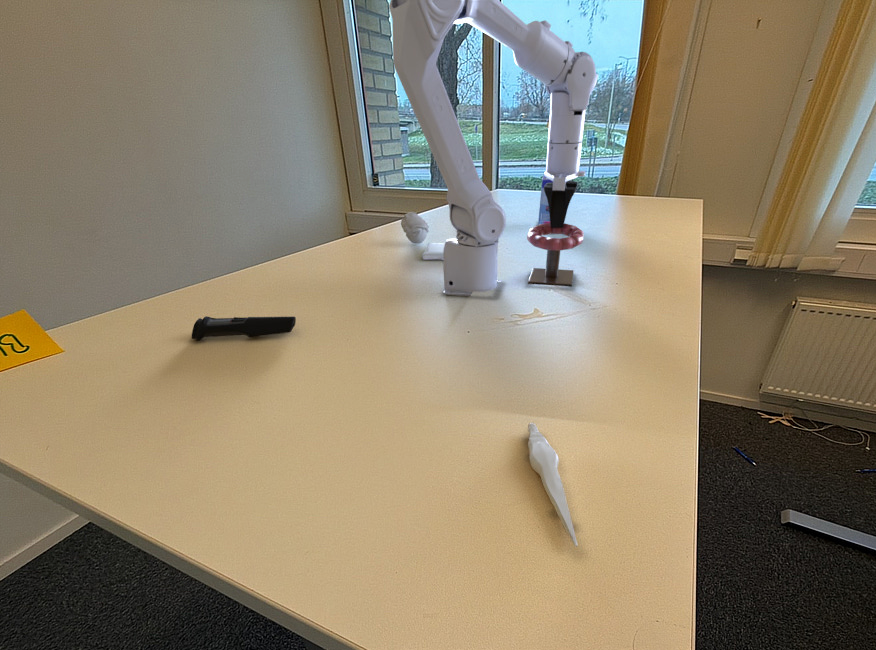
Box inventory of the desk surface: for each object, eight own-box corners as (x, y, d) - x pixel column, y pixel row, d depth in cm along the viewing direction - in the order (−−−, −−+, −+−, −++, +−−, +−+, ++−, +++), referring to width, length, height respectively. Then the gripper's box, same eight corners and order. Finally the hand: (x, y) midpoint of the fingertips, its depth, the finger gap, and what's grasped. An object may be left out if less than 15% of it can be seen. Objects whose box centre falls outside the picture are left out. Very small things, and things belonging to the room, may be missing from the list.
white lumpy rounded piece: (414, 238, 111) (411, 208, 107) (435, 242, 107) (433, 211, 103) (397, 243, 107) (394, 213, 103) (419, 248, 103) (416, 216, 99)
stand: (527, 286, 82) (530, 248, 78) (532, 272, 88) (534, 237, 84) (571, 289, 80) (575, 251, 76) (572, 275, 87) (577, 238, 83)
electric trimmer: (295, 340, 66) (290, 321, 64) (191, 342, 66) (183, 322, 64) (302, 330, 69) (298, 311, 67) (203, 331, 69) (196, 312, 67)
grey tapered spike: (518, 434, 46) (518, 420, 45) (542, 432, 47) (544, 418, 46) (558, 555, 34) (561, 540, 33) (591, 551, 34) (595, 536, 33)
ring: (523, 250, 77) (524, 238, 76) (531, 230, 85) (531, 220, 84) (581, 253, 75) (582, 242, 74) (583, 233, 83) (585, 222, 81)
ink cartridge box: (558, 231, 114) (564, 169, 106) (537, 230, 115) (541, 169, 107) (558, 222, 122) (564, 163, 114) (538, 221, 123) (542, 163, 115)
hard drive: (422, 252, 95) (479, 253, 94) (428, 242, 102) (481, 242, 101) (423, 260, 96) (479, 260, 95) (428, 249, 103) (481, 249, 102)
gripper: (588, 146, 68) (577, 237, 76) (589, 138, 79) (579, 217, 87) (542, 146, 69) (536, 235, 77) (550, 138, 81) (544, 216, 88)
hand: (557, 225), depth 82 cm, fingers closed on ring, 2 cm apart
